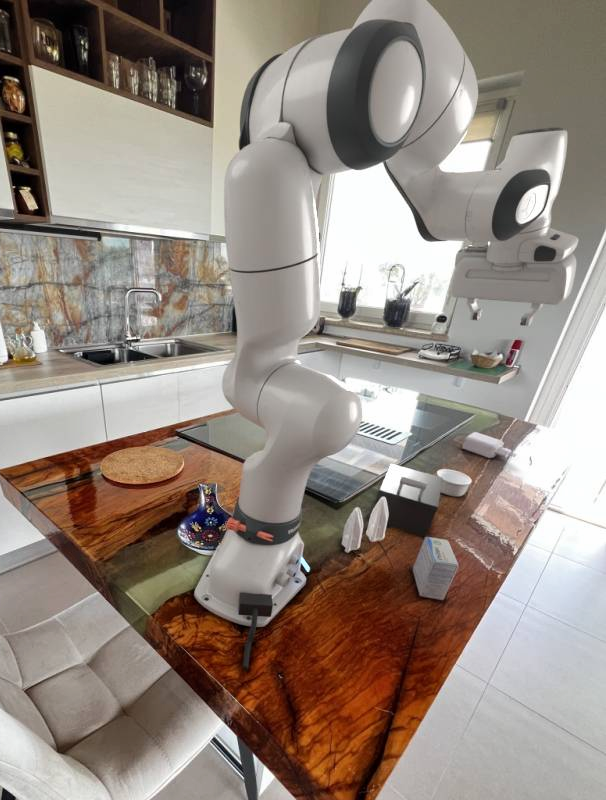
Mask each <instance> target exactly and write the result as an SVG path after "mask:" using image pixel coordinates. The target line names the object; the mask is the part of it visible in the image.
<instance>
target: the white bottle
mask: <svg viewBox="0 0 606 800" xmlns="http://www.w3.org/2000/svg"><path fill="white" fill-rule="evenodd" d="M504 444H505V443H504V441H503V440H502V439H498V438H495V437H492V436H489V435H486V434H483V433H480V432H477V431H474V432H472V433H470V434H469V435H467V436H466V437H465V439H464V441H463V443H462V446H461V450H464V451H467V452H471V453H473V454H476V455H479V456H482V457H485V458H487V459H492V458H494V457H496V456H500V457H502V458H507V457H509V456H510V457H513V458H516V457H517V454H516V453H513V452H512V450H511V449H510V448H506V447H504Z"/></svg>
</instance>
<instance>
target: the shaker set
mask: <svg viewBox="0 0 606 800" xmlns="http://www.w3.org/2000/svg"><path fill="white" fill-rule="evenodd" d="M374 506H375V507H374ZM374 506H373V509H372V511H371V512H370V515H369V519H368V525H367V530H365V535H366V536H367V538H368V539H369V541H370V542H371V543H374V542H381V541H383V540H384V539H385V537H386V530H387V526H388V525H387V521H388V516H389V513H388V506H387V501H386V498H385V497H381V498H380V500H379V501H378V502H377V504H376V505H375V504H374ZM363 532H364V519H363V515H362V511H361V508H360V507H358V506H356V507H354V509H353V510H352V511H351V513H350V515H349V517H348V518H347V521H346V523H345V524H344V527H343V534H342V540H341V546H343V547H344V548H345V549H344V552H345V553H350V552H351V551H356V550H357V551H358V549H360V547H361V543H362V537H363Z"/></svg>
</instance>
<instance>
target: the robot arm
mask: <svg viewBox="0 0 606 800" xmlns="http://www.w3.org/2000/svg"><path fill="white" fill-rule="evenodd" d="M478 99H479V85H478V79H477V75H476V71H475V68H474V66H473V64H472V62H471V61H470V58H469V57H468V54H467V53H466V51H465V49H464V48H463V46H462V44H461V43H460V41H459V39H458V38H457V35H456V34H455V32H454V31H453V29H452V28H451V27H450V25H449V24H448V22H447V21H446V20H445V19H444V18H443V17H442V15H441V14H440V13H439V12H438V10H436V9H435V8H434V7H433V5H432V4H431V3H430V2H429V1H428V0H371V1H370V2H369V3H368V4H367V6H365V8H364V9H363V10H362V12H361V13H360V14H359V16H358V18H356V20H355V22H354V24H353V26H352V27H351V28H346V29H342V30H339V31H334V32H330V33H327V34H324V33H323V34H317V35H315V36H312V37H310V38H308V39H305V40H304V41H302V42H300V43H298V44H296V45H294V46H293V47H291V48H290V49H288V50H286V51H284V52H283V53H277V54H275V55H273V56H272V57H270V58H269V59H267V60H266V61H265V62H264V63H263V64H262V65H260V67H259V68H258V69H257V70H256V71H255V72H254V73H253V75H252V76H251V78H250V80H248V83H247V85H246V88H245V90H244V94H243V96H242V100H241V101H242V102H241V106H240V115H239V138H238V149H239V151H238V152H237V153H236V154H235V155H233V157H232V158H231V160H230V161H229V163H228V165H227V168H226V170H225V173H224V181H223V215H224V216H223V217H224V218H223V220H224V222H223V223H224V237H225V247H226V249H225V250H226V256H227V263H228V270H229V277H230V284H231V290H232V297H233V298H232V299H233V305H234V312H235V319H236V344H235V345H236V346H235V353H234V357H233V358H232V359H231V360H230V361H229V362H228V364H227V365H226V367H225V369H224V372H223V375H222V379H221V389H222V393H223V396H224V398H225V401H227V402H228V403H229V405H230V406H231V407H232V408H233V410H235V411H236V412H237V413H238V414H239V415H240V416H241V417H242V418H245V419H246V420H248V421H249V422H251V423H253V424H254V425H257V426H258V427H260V428H262V429H263V430H265V435H266V441H265V445H264V447H263V449H261V450H258V451H256V452H254V453H253V454H251V455H249V456H248V457H247V458H246V460H244V461H243V464H242V466H241V476H240V483H239V493H238V498H237V499H236V502H235V505H234V506H233V507H234V508H233V511H232V515H231V517H229V518H228V519H227V521H226V525H225V529H226V531H225V533H224V535H223V538H222V540H221V542H220V544H218V545H217V547H216V549H215V551H214V552H213V555H212V556H211V558H210V560H209V561H208V564H207V566H206V568H205V569H204V571H203V572H202V573H203V574H202V576H201V577H200V579H199V581H198V583H197V584H196V586H195V589H194V592H193V596H194V598H195V599H196V601H197V602H198V603H199V604H200V605H201V606H202V607H203V608H205V609H206V610H207V611H209V612H211V613H213V614H214V615H216V616H218V617H221V618H222V619H225V620H227V621H229V622H232V623H235V624H238V625H242V626H246V627H250V629H249V632H248V636H247V638H246V641H245V646H244V651H243V661H242V670H244V671H247V670H249V665H250V664H249V663H250V654H251V647H252V643H253V641H254V640H253V639H254V637H255V635H256V631H257V630H256V629H257V628H262V627H266V625H268V624H269V623H270V622H271V621H272V620H273V619H274V618H275V617H276V615H278V614H279V613H280V611H281V610H283V608H284V607H286V605H287V604H288V603H289V602H290V601H291V600H292V599H293V598H294V597H295V596H296V595H297V594H298V593H299V592H300V591H301V590H302V588H304V587H305V585H306V584H307V577H306V576H305V574H304V573H303V572H302V571H301V566H303V567H304V569H305V571H306V572H308V573H309V572H310V570H311V567H310V566H309V564H308V563H307V562H306V560H305V559H304V557H303V553H304V547H305V544H304V541H303V540H302V537H301V535H300V533H299V530H300V527H301V523H302V519H303V508H302V505H303V500H304V495H305V491H306V488H307V484H308V480H309V478H310V475H311V473H312V471H313V469H314V468H315V466H317V464H318V463H319V462H320V461H321V460H322V459H325V458H328V457H331V456H333V455H335V454H337V453H339V452H341V451H342V450H344V449H346V447H348V446H349V445H350V444H351V443H352V441H353V440H354V439H355V438H356V436H357V434H358V432H359V430H360V427H361V424H362V420H363V406H362V401H361V398H360V397H359V395H358V394H357V393H356V392H355V391H354V390H352V389H351V388H350V387H348V386H347V385H346V384H344V383H343V382H342V381H340V380H338V379H337V378H336V377H335V376H332V375H330V374H326V373H324V372H321V371H319V370H317V369H313V368H311V367H309V366H306V365H303V364H301V361H300V359H299V356H298V349H299V343H300V340H301V339H302V338H304V337H305V336H307V335H308V334H309V333H310V332H311V331H312V330H313V329H314V327H315V326H316V324H317V323H318V321H319V319H320V316H321V277H320V275H321V273H320V241H319V240H320V239H319V226H318V216H317V207H316V205H317V199H318V194H319V190H320V186H321V183H322V181H323V178H324V176H326V175H334V174H339V173H343V172H348V171H351V170H353V171H363V170H366V169H370V168H372V167H377V166H378V165H380V164H383V167H384V169H385V172H386V173H387V176H388V177H389V179H390V181H391V182H392V184H393V185H394V187H395V188H396V190H397V191H398V193H399V194H400V196H401V197H402V199H403V200H404V202H405V203H406V205H407V206H408V208H409V209H410V211H411V213H412V216H413V219H414V223H415V226H416V229H417V231H418V234H419V235H420V237H421V238H422V239H423V240H424V241H426V242H429V243H433V242H448V241H450V242H472V243H473V242H474V243H477V242H479V243H480V242H481V243H487V244H479V245H473V244H467V245H465V246H464V247H462V248H460V249H459V250H458V251H457V253H456V255H455V258H454V259H455V260H454V267H455V269H454V272H453V277H452V280H451V284H450V291H449V292H450V294H451V296H452V297H453V298H457V299H458V298H460V299H467V300H466V305H467V307H468V309H469V311H470V317H469V320H470V321H479V320H481V318H482V313H483V308H479V305H478V303H477V302H478V301H479V300H485V301H500V302H512V303H526V304H527V303H528V304H531V305H530V309H532V311H530V313H529V312H528V313H527V312H526V313H524V314H523V315H522V316H521V318H520V323H519V325H520V326H524V327H530V326H531V324H532V323H533V321H534V316H535V315H536V313H538V312H539V310H541V309H542V307H543V306H544V305H553V306H556V305H559V304H561V303H562V302H564V301H565V300H567V298H568V297H569V296H570V295H571V293H572V290H573V285H574V282H575V278H576V272H577V258H576V256H575V255H574V254H573V252H574V251H575V249H576V248H577V247H578V243H579V238H578V237H577V236H576V235H573V234H570V233H567V232H563V231H560V230H557V229H554V228H552V227H551V222H552V208H553V204H554V201H555V200H556V198H557V196H558V194H559V190H560V187H561V182H562V178H563V173H564V169H565V163H566V159H567V150H568V149H567V148H568V131H567V129H564V128H563V127H559V126H551V127H550V126H549V127H544V128H542V127H541V128H534V129H527V130H524V131H520V132H517V133H516V134H514V135H513V136H512V137H511V139H510V141H509V144H508V147H507V149H506V153H505V157H504V159H503V160H502V162H500V164H499V165H498V166H496V167H495V168H494V169H491V170H489V169H488V170H478V171H463V172H453V171H451V172H450V171H443V170H441V168H440V165H441V164H443V163H444V162H445V161H446V160H447V159H448V158H449V157H450V156H451V155H452V154H453V152H455V150H456V148H458V146H459V145H460V144H461V142H462V141H463V139H465V136H466V134H467V132H468V130H469V129H470V126H471V124H472V121H473V119H474V116H475V114H476V109H477V105H478Z"/></svg>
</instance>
